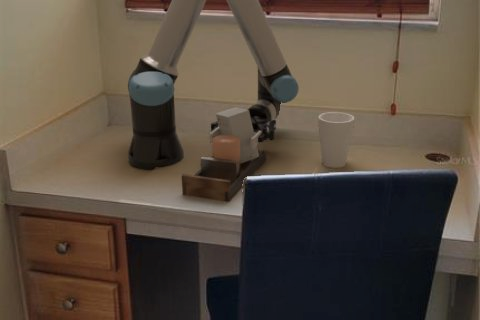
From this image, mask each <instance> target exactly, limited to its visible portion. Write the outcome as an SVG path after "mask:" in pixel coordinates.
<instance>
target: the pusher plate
mask: <svg viewBox="0 0 480 320" xmlns="http://www.w3.org/2000/svg"><path fill="white" fill-rule="evenodd" d="M200 169H201V176H202V177H209V178H216V179H223V180H230V181H231V185H232V183H233V182H234V181H235V180H236V179H237V178H238V177H239V167H238V161H234V160H226V159H218V158H212V157H207V156H202V157H200Z"/></svg>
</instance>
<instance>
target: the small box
mask: <svg viewBox="0 0 480 320" xmlns="http://www.w3.org/2000/svg"><path fill="white" fill-rule="evenodd" d="M215 116H216V122H217V121H218V126H219V130H220V134H221V135H233V136H237V137H239V138H240V164H241V163H244V162H246V161H249V160H252V159H254V158H257V157H259V154H260V153H259V150H258V149H259V148H258V145H257V146H256V147H255V148H254V149H251V138H252V137H253V136H254V135H255V132H254V131H253V126H252V122H251V117H250V113H249V110H247V109H245V108H241V107H236V106H234V107H231V108H228V109H225V110H222V111H219V112H216V113H215Z"/></svg>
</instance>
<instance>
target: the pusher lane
mask: <svg viewBox="0 0 480 320" xmlns="http://www.w3.org/2000/svg"><path fill="white" fill-rule="evenodd" d="M266 161H267V151H266V150H262V151H261V152H260V153H259V157H257V158H254V159H252V160H249V161H246V162H244V163H241V164H240V176H239V177H238V178H237V179H236V180H235V181H234V182H233V183H232V185H231V181H230V180H223V179H216V178H209V177H202V176H201V168H200V169H199V170H198V171H197V172H195V174H193V175H192V174H185V173H183V174H181V188H182V191H181V192H182V196H188V197H193V198H200V199H201V198H202V199H207V200H213V201H222V202H226V203H230V202H231V201H232V200H233V199H234V197H235V196H236V195H237V194H238V193H239V192H240V190H242V188H243V187H242V184H243V180H244V178H245V177H247V176H252V177H253V176H254V175H255V173H256V172H257V171H258V170H259V169H260V168H261V166H263V165H264V163H265V162H266Z"/></svg>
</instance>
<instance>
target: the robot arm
mask: <svg viewBox="0 0 480 320" xmlns="http://www.w3.org/2000/svg"><path fill="white" fill-rule="evenodd" d="M225 1H226V2H227V5H228V7H229V9H230V11H231V13H232V15H233V18H234V20H235V21H236V23H237V25H238V28H239V30H240V32H241V34H242V36H243V39H244V40H245V42H246V45H247V47H248V49H249V51H250V53H251V55H252V57H253V60H254V62H255V64H256V66H257V68H258V69H257V68H256V69H257V101H256V102H255V103H253V104H252V105H251V106H250V107H249V108H247V109H246V110H249V113H250V117H251V122H252V126H253V131H254V136H253V137H252V138H251V149H254V148H255V147H256V146H257V147H258V145H259V144H260V143H264V142H265V141H267V140H269V141H275V131H276V129H277V118H278V117H277V116H278V115H279V111H280V104H281V102H282V103H286V104H287V103H289V102H291V101H293V100H294V99H295V98H296V97H297V96H298V93H299V89H300V88H299V83H298V82H297V80H296V78H295V77H294V76H293V75H292V72H291V71H290V68H289V66H288V64H287V61H286V59H285V57H284V55H283V52H282V51H281V48H280V46H279V44H278V41H277V39H276V36H275V34H274V33H273V31H272V30H273V29H272V27H271V25H270V23H269V21H268V19H267V16H266V14H265V12H264V9H263V8H262V5H261V2H260V0H225ZM206 2H207V0H171V2H170V4H169V6H168V9H167V11H166V13H165V15H164V17H163V19H162V22H161V25H160V27H159V29H158V31H157V33H156V35H155V38H154V40H153V43H152V44H151V47H150V49H149V52H148V53H147V54H145V55H141V56H140V58H139V61H138V63H137V65H136V67H135V69H134V70H132V73H131V74H130V76H129V79H128V81H127V82H128V83H127V92H128V95H129V101H130V111H131V112H130V114H131V125H132V126H131V127H132V138H131V142H130V146H129V149H128V163H129V164H130V165H131V166H132V167H135V168H137V169H141V170H151V171H152V170H155V169H157V168H164V167H169V166H172V165H175V164H178V163H179V162H181V161H183V159H184V149H183V145H182V143H181V141H180V138H179V135H178V133H177V129H176V128H177V126H176V109H175V108H176V107H175V95H174V94H175V83H176V81H177V79H178V77H179V75H180V73H179V70H178V68H177V66H178V64H179V61H180V59H181V56H182V55H183V52H184V50H185V48H186V46H187V44H188V42H189V40H190V37H191V35H192V33H193V30H194V28H195V26H196V24H197V22H198V20H199V17H200V15H201V13H202V11H203V8H204V7H205V4H206ZM220 135H221V134H220V130H219V126H218V121H217V120H216V121H215V122H211V123H210V133H209V144H212V139H213V138H214V137H216V136H220Z"/></svg>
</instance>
